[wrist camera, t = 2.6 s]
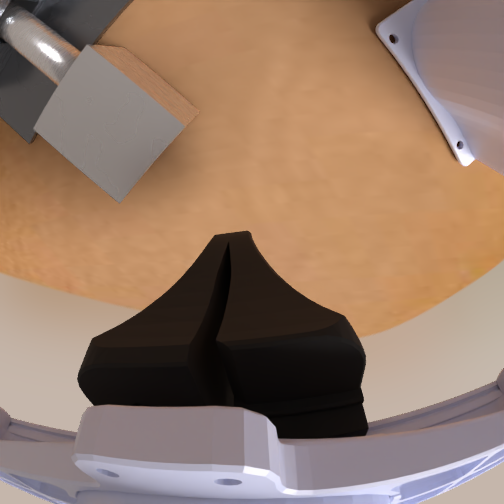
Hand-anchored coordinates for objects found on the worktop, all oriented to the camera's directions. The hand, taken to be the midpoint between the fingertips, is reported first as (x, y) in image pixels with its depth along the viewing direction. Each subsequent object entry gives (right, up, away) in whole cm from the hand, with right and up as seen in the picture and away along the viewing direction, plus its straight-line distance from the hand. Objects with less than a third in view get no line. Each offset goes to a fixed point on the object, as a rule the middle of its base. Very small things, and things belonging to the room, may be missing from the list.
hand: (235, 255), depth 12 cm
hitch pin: (-9, +10, -1) cm, 14 cm away
